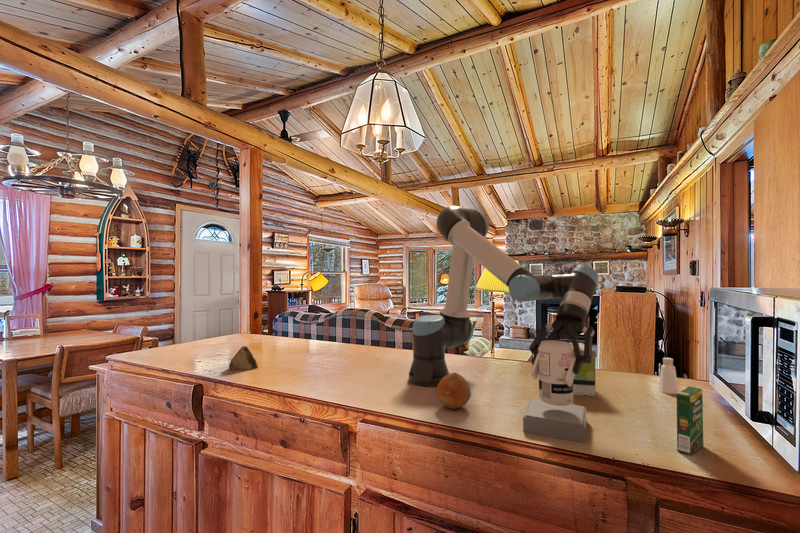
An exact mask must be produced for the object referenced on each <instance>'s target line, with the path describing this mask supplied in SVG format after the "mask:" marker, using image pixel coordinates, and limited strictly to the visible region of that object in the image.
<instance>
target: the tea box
mask: <svg viewBox="0 0 800 533" xmlns="http://www.w3.org/2000/svg"><path fill="white" fill-rule="evenodd" d="M568 343H570V346H571V348H572V349H573V344H572V342H568ZM579 347H580V351H581V355H584V343H583V342H579ZM596 356H597V355H596V350H595V349H593V348H592V359H591V363H583V364H582V366H581V369H580V372H579V374H575V376H574V379H573V396H583V395H587V396H586V397H596V369H597V368H596V362H597V361H596V360H597V359H596ZM573 358H575V360H576V357H575V353H574V349H573Z"/></svg>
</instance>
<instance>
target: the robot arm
mask: <svg viewBox="0 0 800 533" xmlns="http://www.w3.org/2000/svg"><path fill="white" fill-rule="evenodd" d="M489 225H490V224H489V220H488V218H487V216H486V215H485V214H484V213H483V212H482V211H480V210H477V209H475V208H469V207H468V208H467V207H462V206H461V207H460V206H458V205H451V206H447V207H445V208H444V209H441V211H440V212H439V213H438V216H437V217H436V228H437V230H438V232H439V234H440V235H441V236H442V237H443V239H445V240H446V241H447V242H449V243H450V245H451V246H452V252H451V259H450V267H449V274H448V282H447V290H446V297H445V305H444V307H443V308H442V309H440V312H439V314H431V315H424V316H423V315H422V316H420V317H417V318H415V319H414V321H413V322H412V323H413V324H412V350H413V351H412V355H413V357H412V363H411V366H410V369H409V371H408V382H409V383H411V384H413V385H415V386H421V387H437V386H438V384H439V382H440V381H441V380H442V378H443V377H445V376H446V375H448V374H450V372H449V369H448V366H447V362H446V358H445V357H446V350H447V349H450V348H451V349H452V348H455V347H462V346H463V345H466V344H467V343H468V342H469V341H471V339H472V338H473V334H474V324H473V323H472V320H471V319H470V317H471V315H470V313H469V311H468V304H469V303H468V302H469V296H470V291H471V283H472V276H473V269H474V262H475V261H476V262H477V263H479V265H481V266H482V267H483V268H485V269H486V270H487V271H488V272H489V273H491V274H492V275H493V277H495V278H496V279H498V281H500V282H502V283H503V284H504V285H505V286H506V287H508V292H509V294H510V296H511V297H512V298H513V299H514V300H516V301H519V302H532V301H537V300H549V299H553V300H554V299H561V302H560V304H559V308H558V310H557V312H556V316H555V319H554V321H553V322H552V323H547V322H545V321H543V322H541V327H540V330H539V331H538V333H537V334H536V336H535V338H534V339H533V341H532V342H531V344H530V346H529V347H528V348H529V350H530V351H529V352H531V354H532V355H533V357H532V360H531V365H532V368H531V371H530V375H531V377H532V379H533V380H535V381H536V380H538V378H539V358H538V348H539V346H540V344H541V341H547V340H554V341H561V340H568V341H571V343H572V344H573V349H574V353H575V357H576V360H575V358H572V359H571V362H570V365H569V369H568V372H567V375H566V378H565V381H566V383H567V385H568V386H570V387H571V386H572V383H573V379H574V376H575V374H579V372H580V369H581V366H582V364H583V363H591V359H592V349H593V339H594V337H595V334H596V332H595V330H594V327H593V326H592V325H591V326H588V327H587V326H585V325H586V322H587V317H588V315H589V311H590V309H591V305H592V301H593V297H594V295H595V291H596V289H597V287H598V280H599V274H598V272H597V271H596V270H595V269H594V268H592V267H590V266H587V265H578V266H576V267H574V268H573V269H572V270H571V272H570V273H563V274H533V273H532V272H530V271H529V270H528V269H526V268H525V267H524V266H523V265H522V264H520V263H519V262H518V261H516V260H515V259H514V258H512V257H511V256H509V255H508V254H507V253H506V252H504V251H503V250H502V249H501V248H499V247H498V246H497V245H495V244H494V243H493V242H491V241H490V240H488V239H487V238H486V236H487V234H488V232H489ZM549 333H550V334H549ZM548 334H549V335H548ZM582 334H584V340H583V341H584V343H583V344H584V355H581V351H580V347H579V343H580V342H579V339H578V337H579V336H581V335H582Z"/></svg>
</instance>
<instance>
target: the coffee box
mask: <svg viewBox="0 0 800 533" xmlns="http://www.w3.org/2000/svg"><path fill="white" fill-rule="evenodd" d="M703 406H704V405H703V389H702V388H698V387H696V386H695V387H694V386H687V387H686V388H684V389H683V390H681V391H679V393H677V394H676V443H677V444H676V446H677V449H676V450H677V452H679V453H682V454H685V455H687V456H689V457H690V456H693V454H695V453H697V451H699V450H700V449H701V448H703V447H704V444H705V443H704V417H703V415H704V414H703V412H704V411H703Z"/></svg>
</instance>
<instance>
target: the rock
mask: <svg viewBox="0 0 800 533" xmlns="http://www.w3.org/2000/svg"><path fill="white" fill-rule="evenodd" d="M228 368H229V370H240V369H241V370H244V371H245V370H246V371H247V370H255V369H258V368H259V366H258V363H257V360H256V358H255V357H254V355H253V353H252V351H250V349H249V348H248V346H245V345H244V346H242V347H241V348H239V350H238V351H237V352H236V353H235V354H234V356H233V357H232V358H231V360H230V362H229V365H228ZM241 370H240V371H241Z"/></svg>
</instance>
